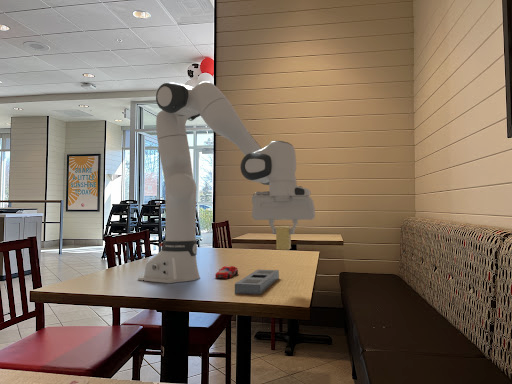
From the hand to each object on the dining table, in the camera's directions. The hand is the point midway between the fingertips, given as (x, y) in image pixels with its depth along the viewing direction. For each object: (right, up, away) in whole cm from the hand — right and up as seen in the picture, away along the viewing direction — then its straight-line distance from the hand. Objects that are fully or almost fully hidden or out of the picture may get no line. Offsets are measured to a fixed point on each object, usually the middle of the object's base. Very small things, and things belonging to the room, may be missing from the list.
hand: (283, 234), depth 120 cm
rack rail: (-8, -18, +6) cm, 21 cm away
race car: (-20, -20, +24) cm, 37 cm away
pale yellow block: (0, -5, 0) cm, 5 cm away
